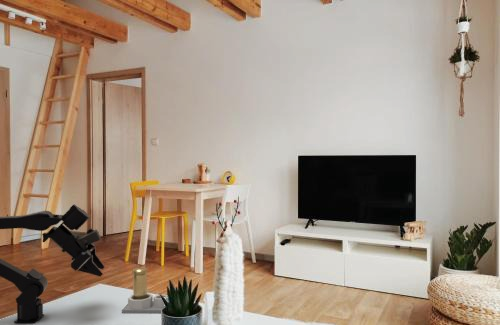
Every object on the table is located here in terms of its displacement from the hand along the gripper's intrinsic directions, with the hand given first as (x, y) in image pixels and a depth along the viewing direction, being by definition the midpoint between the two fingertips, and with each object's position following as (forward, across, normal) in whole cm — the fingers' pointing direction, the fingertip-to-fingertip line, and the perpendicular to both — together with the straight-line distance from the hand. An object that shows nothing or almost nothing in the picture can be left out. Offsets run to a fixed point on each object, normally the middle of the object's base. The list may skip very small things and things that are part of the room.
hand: (102, 271), depth 141 cm
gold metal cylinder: (+17, 0, 0) cm, 17 cm away
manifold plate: (+20, -1, -1) cm, 20 cm away
